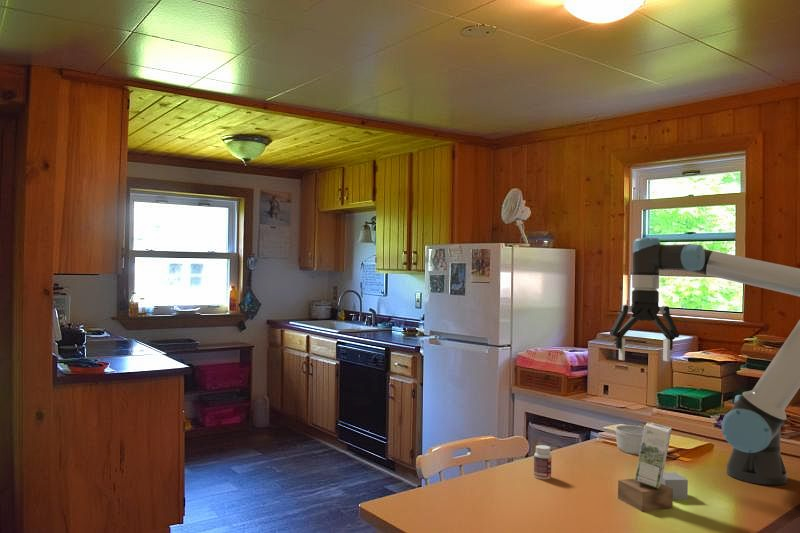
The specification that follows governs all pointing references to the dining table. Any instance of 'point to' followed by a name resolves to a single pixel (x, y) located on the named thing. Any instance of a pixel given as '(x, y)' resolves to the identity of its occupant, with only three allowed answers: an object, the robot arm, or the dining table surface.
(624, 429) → the ramekin
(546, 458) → the pill bottle
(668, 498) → the walnut block
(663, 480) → the grey block
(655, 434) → the syrup box
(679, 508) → the dining table surface
